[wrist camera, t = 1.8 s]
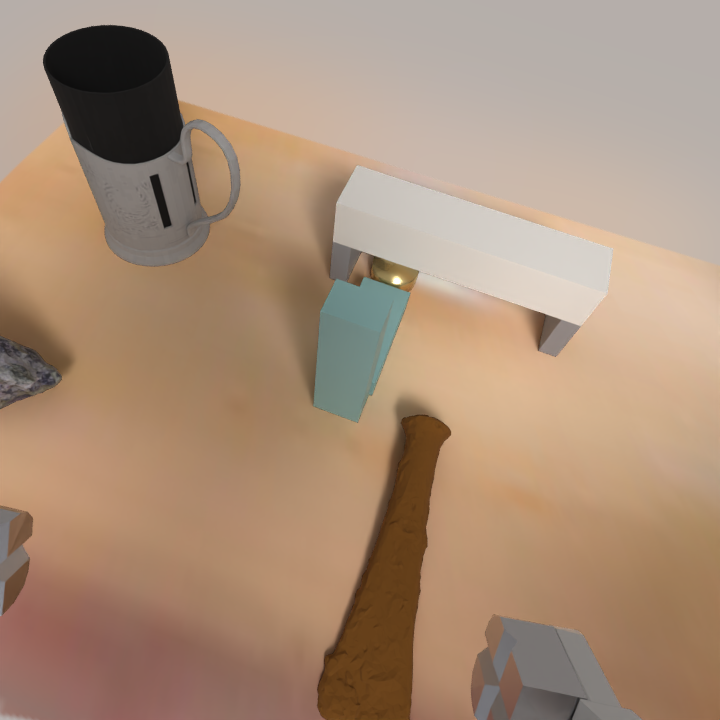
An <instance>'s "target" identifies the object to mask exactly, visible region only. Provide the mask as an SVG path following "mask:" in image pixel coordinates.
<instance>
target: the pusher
mask: <svg viewBox="0 0 720 720" xmlns="http://www.w3.org/2000/svg"><path fill="white" fill-rule="evenodd" d="M409 296H410V292H407V291H404V290H401V289H398V288H395V287H392V286H389V285H386V284H384V283H381V282H378V281H375V280H372V279H369V278H366V277H364V278H363V280H362V283H361V285H360V287H359V286H356V285H353V284H350V283H348V282H345V281H342V280H339V279H336V281H335V283H334V285H333V287H332V289H331V291H330V293H329V295H328V297H327V299H326V301H325V303H324V305H323V307H322V309H321V311H320V323H319V336H318V350H317V364H316V377H315V391H314V405H313V406H314V407H317V408H319V409H322V410H325V411H327V412H330V413H333V414H336V415H338V416H341V417H344V418H346V419H349V420H352V421H354V422H357V423H358V421H359V418H360V416H361V413H362V411H363V408H364V405H365V403H366V400H367V398H368V395H371V396H372V394H373V391H374V389H375V386H376V384H377V381H378V379H379V376H380V373H381V371H382V368H383V366H384V363H385V360H386V358H387V355H388V353H389V350H390V347H391V345H392V342H393V340H394V337H395V335H396V332H397V329H398V327H399V324H400V322H401V319H402V316H403V314H404V311H405V309H406V306H407V302H408V299H409Z"/></svg>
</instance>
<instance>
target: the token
mask: <svg viewBox="0 0 720 720" xmlns="http://www.w3.org/2000/svg"><path fill="white" fill-rule="evenodd" d="M418 273H419V271H418V270H415V269H412V268H409V267H406V266H403V265H400V264H397V263H394V262H391V261H388V260H386V259H383V258H380V257H377V256H374V259H373V264H372V269H371V279H372V280H375V281H378V282H381V283H384V284H386V285H389V286H392V287H395V288H398V289H401V290H404V291H407V292H409V291H410V290H411V289H412V288H413V287H414V285H415V283H416V279H417V276H418Z"/></svg>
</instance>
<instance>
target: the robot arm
mask: <svg viewBox="0 0 720 720" xmlns="http://www.w3.org/2000/svg"><path fill="white" fill-rule="evenodd" d="M32 527H33V517H32V516H31V515H30V514H29V513H28V512H26V511H22V510H18V509H13V508H9V507H5V506H1V505H0V616H2V615H3V614H4V613H5V612H6V611H7V610H8V609H9V607H10V606H11V605H12V604H13V603H14V602H15V600H16V598H17V596H18V595H19V593H20V591H21V590H22V588H23V586H24V584H25V580H26V577H27V574H28V570H29V561H30V557H29V556H28V554H27V552H26V551H25V549H24V547H23V545H22V544H23V543H24V542H25V541H26V540H27V539H29V538H30V537H31V536H32ZM485 636H486V640H487V643H488V647H487V648H486V649H485V650H483V651H482V652H481V653H479V654H478V655H477V659H476V662H475V665H474V669H473V674H472V683H471V698H472V706H473V711H474V716H475V717H476V718H477V720H642V719H641V718H640V717H639V716H638V715H636V714H635V713H634V712H633V711H632V710H630V709H625V708H622V707H621V705H620V703H619V701H618V699H617V698H616V696H615V694H614V692H613V690H612V688H611V686H610V684H609V682H608V681H607V679H606V677H605V675H604V673H603V671H602V669H601V667H600V665H599V664H598V662H597V660H596V658H595V656H594V654H593V652H592V650H591V648H590V647H589V645H588V643H587V641H586V639H585V637H584V635H583V634H582V633H580V632H579V631H578V630H575V629H569V628H564V627H558V626H553V625H544V624H539V623H534V622H529V621H524V620H519V619H515V618H510V617H505V616H500V615H495V614H494V615H493V616H492V618H491V619H490V621H489V623H488V626H487V629H486V631H485Z"/></svg>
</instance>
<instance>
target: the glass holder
mask: <svg viewBox="0 0 720 720" xmlns="http://www.w3.org/2000/svg"><path fill="white" fill-rule="evenodd" d="M43 65H44V69H45V71H46V74H47V76H48V79H49V81H50V84H51V86H52V88H53V91H54V93H55V96H56V98H57V101H58V103H59V106H60V108H61V111H62V116H63V120H64V123H65V126H66V129H67V132H68V134H69V137H70V140H71V142H72V145H73V147H74V149H75V152H76V154H77V157H78V159H79V162H80V164H81V166H82V169H83V171H84V174H85V176H86V178H87V181H88V183H89V186H90V188H91V191H92V193H93V195H94V198H95V200H96V203H97V205H98V208H99V210H100V212H101V215H102V217H103V220H104V222H105V238H106V242H107V244H108V246H109V247H110V249H111V250H112V251H113V252H114V253H115V254H116V255H117V256H119V257H120V258H121V259H123V260H126V261H128V262H130V263H133V264H136V265H142V266H165V265H170V264H174V263H177V262H179V261H182V260H184V259H186V258H188V257H190V256H191V255H193V254H194V253H195V252H197V251H198V250H199V249H200V248H201V247H202V246H203V244H204V243H205V241H206V239H207V237H208V234H209V229H210V223H213V222H216V221H219V220H222V219H224V218H226V217H227V216H228V215H229V214H230V212H231V211H232V210H233V208H234V206H235V204H236V202H237V200H238V196H239V191H240V169H239V164H238V160H237V156H236V154H235V152H234V150H233V148H232V146H231V144H230V143H229V141H228V140H227V139H226V137H225V136H224V135H223V134H222V133H221V132H220V131H219V130H218V129H217V128H215V127H214V126H213V125H211V124H210V123H208V122H206V121H203V120H199V119H197V120H193V121H190V122H189V123H187V124H186V125H185V122H184V119H183V116H182V114H181V113H180V110H179V104H178V99H177V94H176V90H175V84H174V80H173V74H172V69H171V64H170V59H169V55H168V51H167V49H166V47H165V46H164V45H163V43H162V42H161V41H160V40H158V39H157V38H156V37H154V36H153V35H151V34H149V33H147V32H144V31H142V30H139V29H135V28H131V27H125V26H116V25H101V26H91V27H87V28H82V29H78V30H76V31H72V32H70V33H68V34H65V35H63V36H62V37H60V38H58V39H57V40H56V41H54V42H53V43H52V44H51V45H50V46H49V47H48V49H47V50H46V52H45V54H44V58H43ZM193 128H195V129H199V130H201V131H203V132H204V133H206V134H207V135H209V136H210V137H211V138H212V139H213V140H214V141H215V142H216V143H217V144H218V145H219V147H220V148H221V149H222V151H223V153H224V155H225V157H226V159H227V161H228V165H229V169H230V173H231V194H230V200H229V202H228V204H227V206H226V208H225V209H224V211H223V212H221V213H219V214H217V215H214V216H210V217H208V216H207V213H206V212H205V210H204V209H203V207H202V206H201V204H200V199H199V194H198V188H197V183H196V178H195V173H194V168H193V163H192V148H191V139H190V134H191V130H192V129H193Z"/></svg>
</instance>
